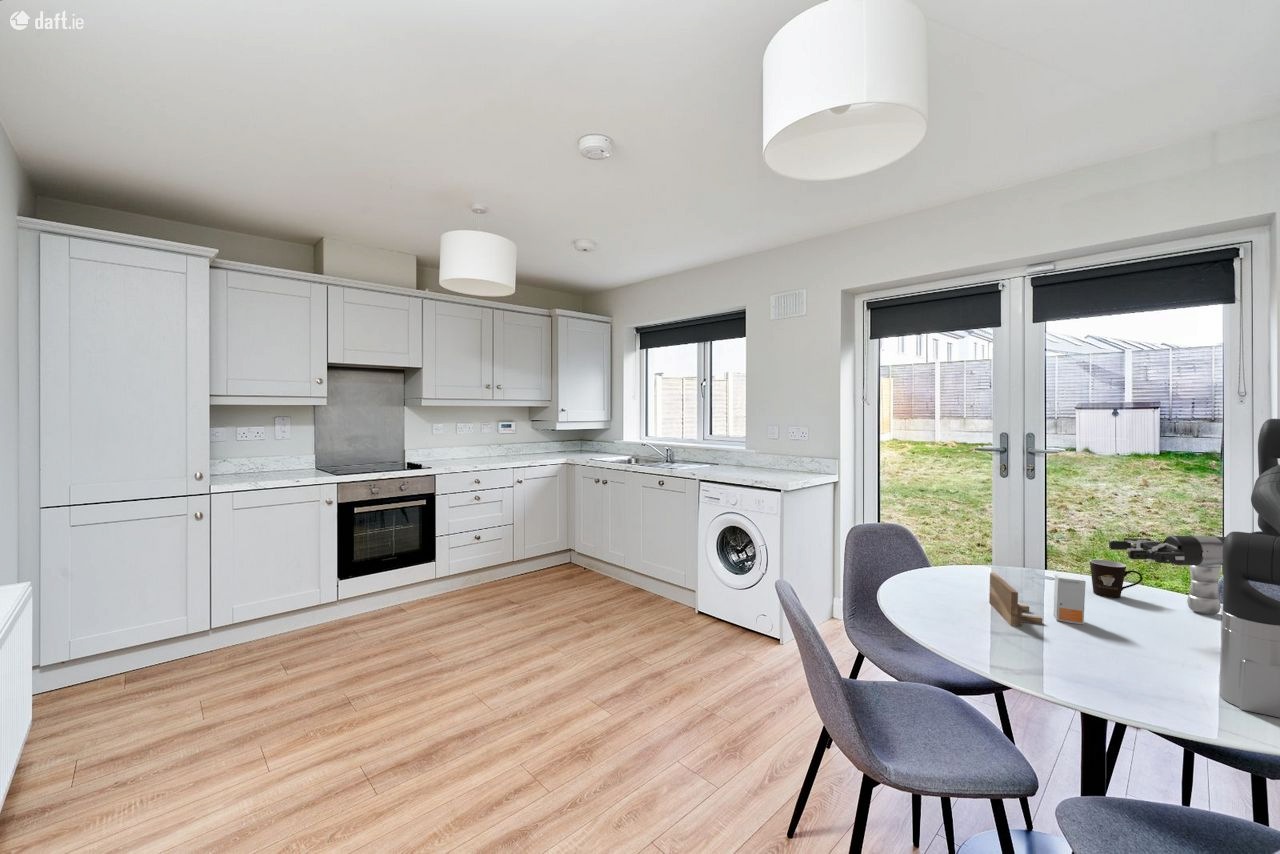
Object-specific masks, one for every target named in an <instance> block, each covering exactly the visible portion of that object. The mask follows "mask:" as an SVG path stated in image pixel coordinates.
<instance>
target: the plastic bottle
mask: <svg viewBox="0 0 1280 854" xmlns="http://www.w3.org/2000/svg"><path fill="white" fill-rule="evenodd" d="M1188 566H1189V572H1190V587H1189V591H1188V592H1189V594H1188V595H1187V596H1188V597H1187V599H1186V603H1187V606H1188V608H1189V609H1190V610H1191V611H1192V612H1195V613H1199V614H1202V613H1203V615H1213V616H1214V615H1218V614H1219V613H1220V612H1221V608H1222V605H1221V601H1220V599H1219V597H1220V595H1219V594H1220V593H1219V581H1220V579H1219V578H1220V574H1221V570H1222V565H1211V566H1193V565H1188Z"/></svg>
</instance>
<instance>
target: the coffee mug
mask: <svg viewBox="0 0 1280 854" xmlns="http://www.w3.org/2000/svg"><path fill="white" fill-rule="evenodd" d="M1089 567H1090V575H1091V583H1092V584H1091V585H1092V592H1093V594H1094V595H1095V596H1098V597H1102V598H1105V599H1106V598H1108V599H1116V600H1117V599H1121V597H1122V591H1124V590H1125V589H1127V588H1131V587H1134V586H1138V584H1140V583H1141V582H1142V581H1143V579H1144V578H1143V575H1142V573H1140V572H1139V571H1137V570H1126V569H1127V565H1126V564H1125V563H1122V562H1118V561H1115V560H1109V559H1108V560H1107V559H1100V558H1099V559H1095V558H1092V559H1089ZM1131 573H1135V574H1137V575H1138V576H1139V580H1138V581H1136V582H1134V583H1132V584H1128V585H1125V586H1123V585H1124V580H1125V577H1126V576H1127V575H1128V574H1131Z"/></svg>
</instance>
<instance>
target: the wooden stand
mask: <svg viewBox="0 0 1280 854" xmlns="http://www.w3.org/2000/svg"><path fill="white" fill-rule="evenodd" d="M988 594H989V599H988V600H989V601H988V602H989V604H990V605H991V606H992V607H993V608H994V610H996V611H997V613H998V614H999V615H1000V616H1001V617H1002V618H1003V619H1004V620H1005V621H1006V623H1008V625H1010V626H1011V627H1023V626H1022V623H1030V624H1040V625H1043V617H1042V616H1037V615H1036V616H1035V615H1029V614H1027V615H1026V614H1023V612H1026V613H1030V605H1028V604H1027V605H1026V604H1019V592H1018V591H1017V590H1016V589H1014V588H1013V586H1011V585H1010V584H1009V583H1008V582H1006V581H1005V580H1004V579H1003V578H1002V577H1001V576H1000V575H998V574H997V573H996V572H989V593H988Z"/></svg>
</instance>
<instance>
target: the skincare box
mask: <svg viewBox="0 0 1280 854" xmlns="http://www.w3.org/2000/svg"><path fill="white" fill-rule="evenodd" d="M1053 593H1054V594H1053V617H1054V619H1055V620H1056V621H1057V622H1064V623H1065V622H1066V623H1071V624H1076V625H1081V624H1083V625H1084V623H1085V622H1084V621H1085V604H1086V603H1085V600H1086V580H1085V579H1084V578H1083V577H1082V576H1078V575H1077V576H1076V575H1068V574H1058V573H1055V574H1054V592H1053Z"/></svg>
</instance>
